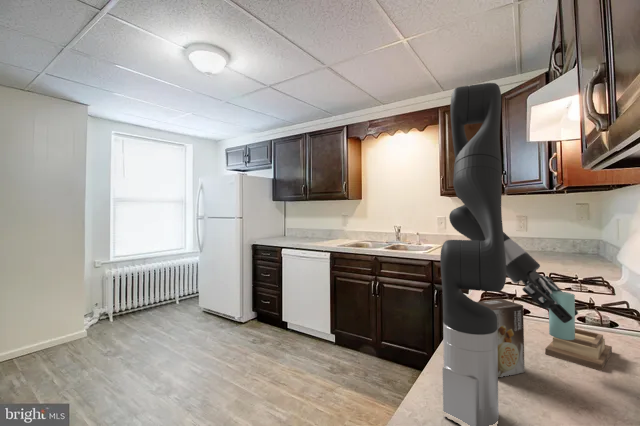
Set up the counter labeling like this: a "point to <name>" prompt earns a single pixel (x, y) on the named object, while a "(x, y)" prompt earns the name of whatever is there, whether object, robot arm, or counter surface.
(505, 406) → the counter surface
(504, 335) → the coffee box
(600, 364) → the base slab
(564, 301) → the teal post
